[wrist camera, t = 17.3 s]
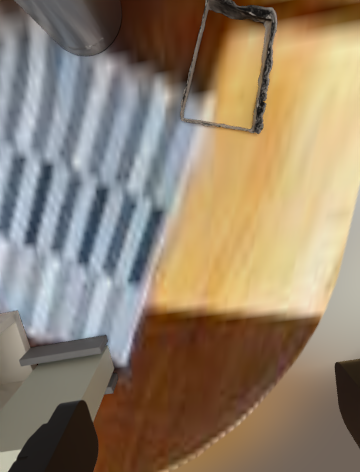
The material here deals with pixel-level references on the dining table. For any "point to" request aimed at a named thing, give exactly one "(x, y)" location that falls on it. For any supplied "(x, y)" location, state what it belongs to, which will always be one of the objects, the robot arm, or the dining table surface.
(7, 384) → the hinge cabinet
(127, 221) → the dining table surface
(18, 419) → the door panel
